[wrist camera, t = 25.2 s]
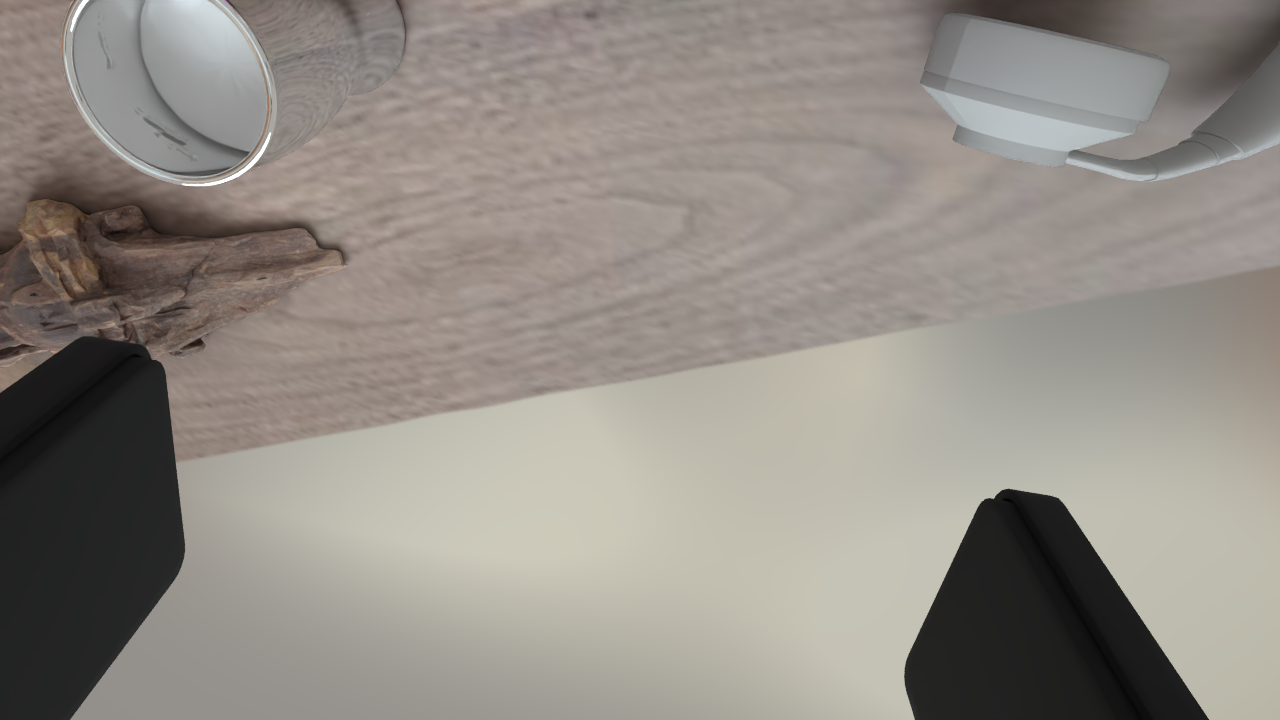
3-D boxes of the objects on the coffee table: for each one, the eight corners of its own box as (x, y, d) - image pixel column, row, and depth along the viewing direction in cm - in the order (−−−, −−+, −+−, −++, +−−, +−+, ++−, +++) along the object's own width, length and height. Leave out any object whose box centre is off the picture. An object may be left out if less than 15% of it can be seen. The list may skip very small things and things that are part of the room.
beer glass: (390, 127, 41) (255, 228, 27) (251, 63, 39) (39, 136, 26) (435, -12, 38) (307, 25, 24) (285, -86, 36) (65, -89, 23)
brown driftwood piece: (369, 324, 46) (344, 359, 42) (-114, 385, 49) (-177, 422, 45) (313, 157, 41) (279, 179, 38) (-215, 235, 44) (-293, 263, 41)
